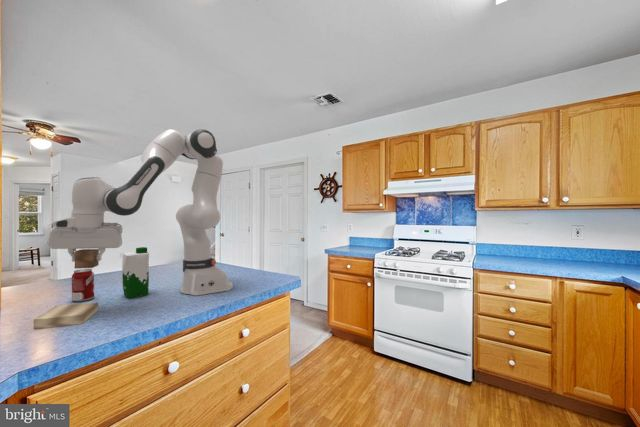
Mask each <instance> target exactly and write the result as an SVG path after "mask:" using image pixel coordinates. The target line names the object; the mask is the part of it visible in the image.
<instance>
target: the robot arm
mask: <svg viewBox="0 0 640 427" xmlns="http://www.w3.org/2000/svg"><path fill="white" fill-rule="evenodd" d="M216 141H217V140H216V138H215V136H214V134H213V133H212V132H210V131H209V130H206V129H202V128H201V129H196V130H194V131H193V132H190V133H189V134H187V135H184V134H182V133H181V132H179V131H178V130H176V129H172V128H169V129H166V130H164V131H163V132H161V133H160V134H158V135H157V136H156V137H155V138H154V139H152V141H151V142H149V144H148V145H147V146H146V147H145V149H144V151H143V152H142V154H141V158H140V159H141V165H140V167H139V168H138V170H137V171H136V172H135V173H134V174H133V176H132V177H131V178H130V179H129V180H128V182H126V183H124V185H122V186H116V185H113V184H111V183H109V182H107V181H106V180H104V179H103V178H101V177H98V176H97V177H94V176H93V177H81V178H79V179H77V180H75V181H74V182H73V187H72V191H71V204H72V211H71V217H67V218H64V219H59V220H56V221H53V222H52V227H53V228H52V229H51V231H50V233H49V238H48V247H49V248H50V249H51V250H59V249H60V250H65V249H66V250H67V253H68V254H69V255H70V257H71V261H72V262H74V263H75V251H77V249H78V250H81V249H98V251H99V254H98V255H97V256H95V261H99V262H100V261H102V256H103V254H104V253H105V252H106V249H118V248H120V247H121V246H122V245H123V238H122V233H123V225H121V224H119V223H118V222H104V221H105V219H104V217H105V213H106V212H109V213H113V214H115V215H117V216H130V215H133V214H135V213H137V211H139V209H140V208H141V206H142V203H143V198H144V195H145V194H146V192H147V190H148V189H149V188H150V187H151V186H152V184H153V183H154V182H155V181H156V180H157V178H158V177H159V176H160V175H161V174H163V173H164V172H165V171H166V170H168V169H169V168H170V167H171V166H172V165H173V164H174V163H175V162H176V161H177V159H178V158H179V157H180V156H183V157H185V159H186V158H187V159H189V160H196V161H197V168H196V172H195V174H194V177H193V181H192V182H193V183H192V185H191V192H192V195H193V199H192V200H193V202H192V204H186V205H183V206H181V207H179V208H178V210H177V211H176V214H175V219H176V221H177V223H178V224H179V226H180V232H181V235H182V239H183V260H182V273H183V274H182V275H183V276H182V281H181V286H180V288H179V292H180V293H181V294H186V295H191V296H201V295H202V296H203V295H208V294H215V293H222V292H229V291H230V290H232V289H233V288H234V285H233V282H232V281H231V280H230V281H229V279H228V275H227V273H226V272H225V271H224V270H223V269H221V268H219V267H218V266H216V265H217V260H216V259H215V258H213V257H211V251H212V250H211V249H212V248H211V240H210V238H209V236H208V235H207V234H208V233H207V232H206V230H209V229H213V228H215V227H216V226H218V224H219V223H220V221H221V213H220V211H219V209H218V204H217V199H218V198H217V197H218V191H219V187H220V182H221V178H222V173H223V164H224V163H223V159H222V158H221V157H220V156H219V155H217V153H218V149H217V142H216Z"/></svg>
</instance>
